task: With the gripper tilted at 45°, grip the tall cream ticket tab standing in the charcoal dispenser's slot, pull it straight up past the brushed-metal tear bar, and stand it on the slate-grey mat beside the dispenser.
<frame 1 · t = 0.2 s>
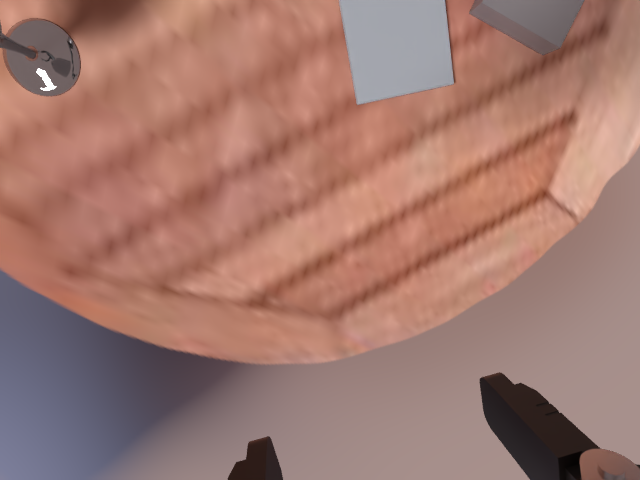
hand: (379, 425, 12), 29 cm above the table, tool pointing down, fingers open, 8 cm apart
mat: (396, 41, 37), on the table
wine glass: (43, 58, 34), on the table
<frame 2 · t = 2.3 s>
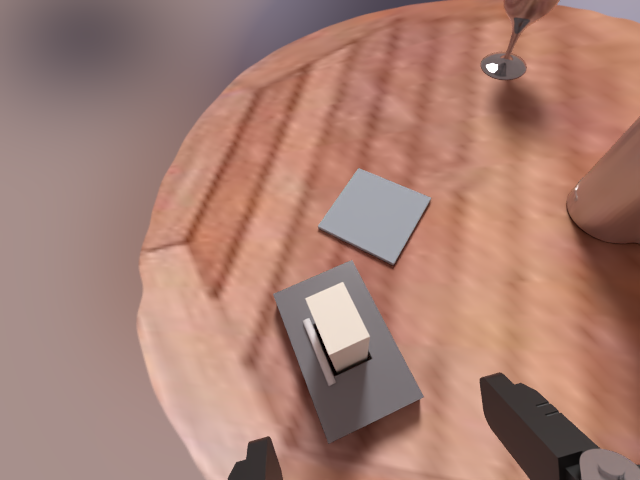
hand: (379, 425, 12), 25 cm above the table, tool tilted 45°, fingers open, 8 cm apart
mat: (374, 214, 46), on the table
dispenser: (342, 345, 38), on the table
wine glass: (502, 66, 57), on the table
ticket: (342, 345, 38), resting in dispenser
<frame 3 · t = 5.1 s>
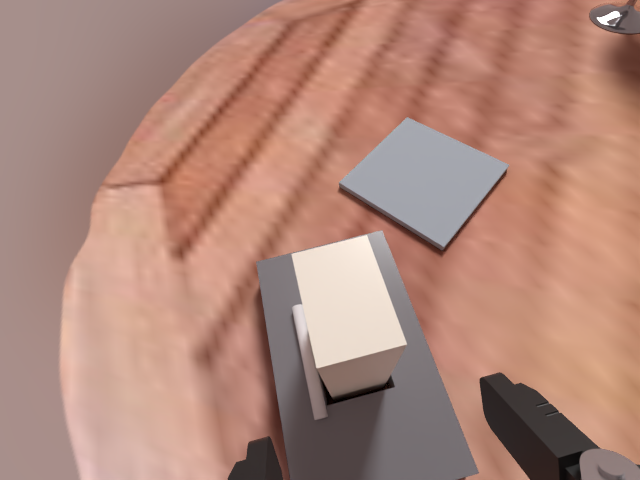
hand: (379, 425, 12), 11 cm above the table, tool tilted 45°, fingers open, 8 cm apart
mat: (422, 178, 32), on the table
dispenser: (348, 357, 24), on the table
wine glass: (620, 19, 42), on the table
ticket: (348, 357, 24), resting in dispenser
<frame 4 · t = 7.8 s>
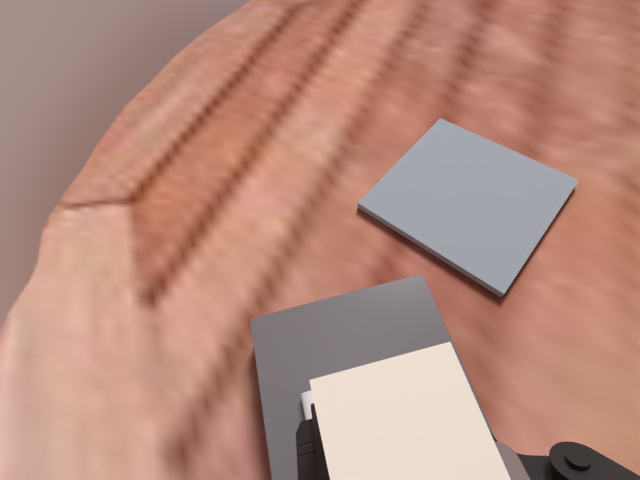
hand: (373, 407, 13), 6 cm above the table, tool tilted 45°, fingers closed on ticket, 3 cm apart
mat: (464, 196, 25), on the table
dispenser: (380, 458, 17), on the table
ticket: (380, 459, 17), resting in dispenser, touching gripper
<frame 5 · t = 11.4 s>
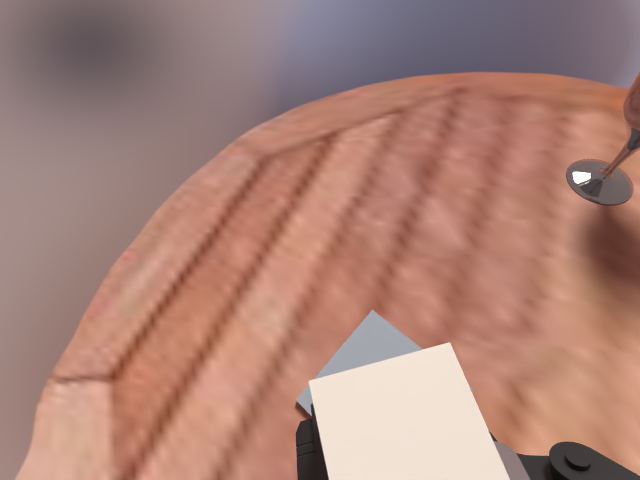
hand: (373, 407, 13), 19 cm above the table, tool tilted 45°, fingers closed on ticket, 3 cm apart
mat: (383, 395, 30), on the table
wine glass: (598, 182, 41), on the table
ticket: (380, 459, 17), point 13 cm above the table, touching gripper
when the fingers open (9 cm above the table, at t = 15.3 s): ticket drops 3 cm, resting on mat.
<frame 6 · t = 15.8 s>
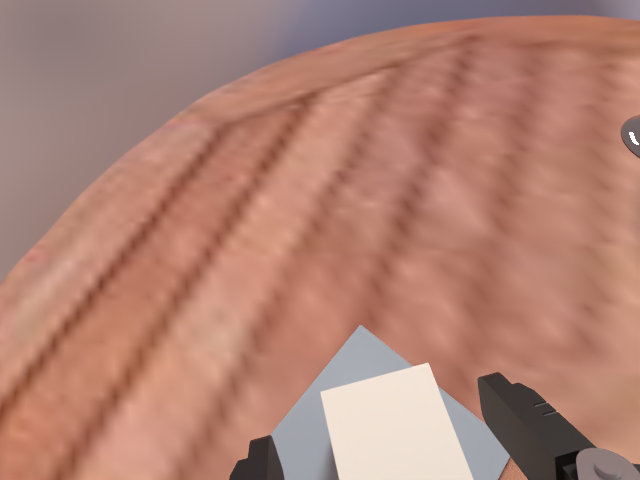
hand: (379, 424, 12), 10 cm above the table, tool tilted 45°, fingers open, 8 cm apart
mat: (376, 456, 20), on the table
ticket: (377, 455, 20), point 1 cm above the table, touching mat
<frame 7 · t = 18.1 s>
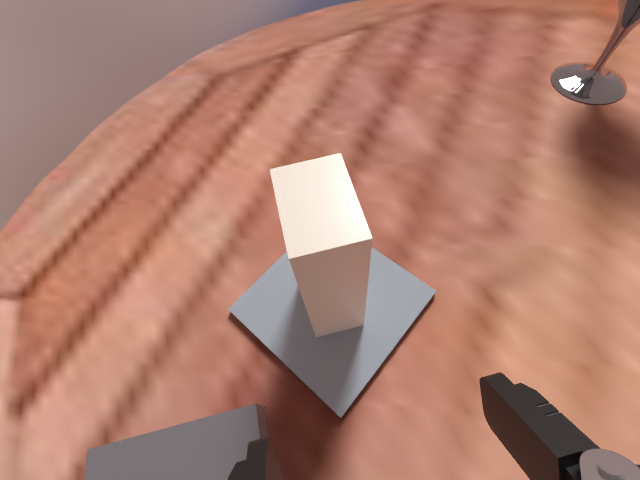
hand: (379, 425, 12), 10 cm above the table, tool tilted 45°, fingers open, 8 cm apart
mat: (331, 303, 26), on the table
wine glass: (586, 84, 36), on the table
ticket: (331, 299, 25), point 1 cm above the table, touching mat
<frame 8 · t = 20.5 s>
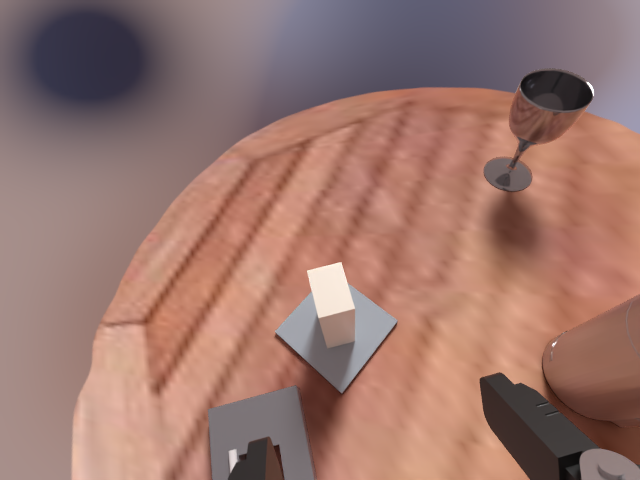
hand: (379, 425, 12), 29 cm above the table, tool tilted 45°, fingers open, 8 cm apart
mat: (336, 327, 43), on the table
wine glass: (507, 174, 54), on the table
ticket: (336, 325, 43), point 1 cm above the table, touching mat
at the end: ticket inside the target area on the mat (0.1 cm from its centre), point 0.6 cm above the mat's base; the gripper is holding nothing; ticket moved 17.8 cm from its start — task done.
